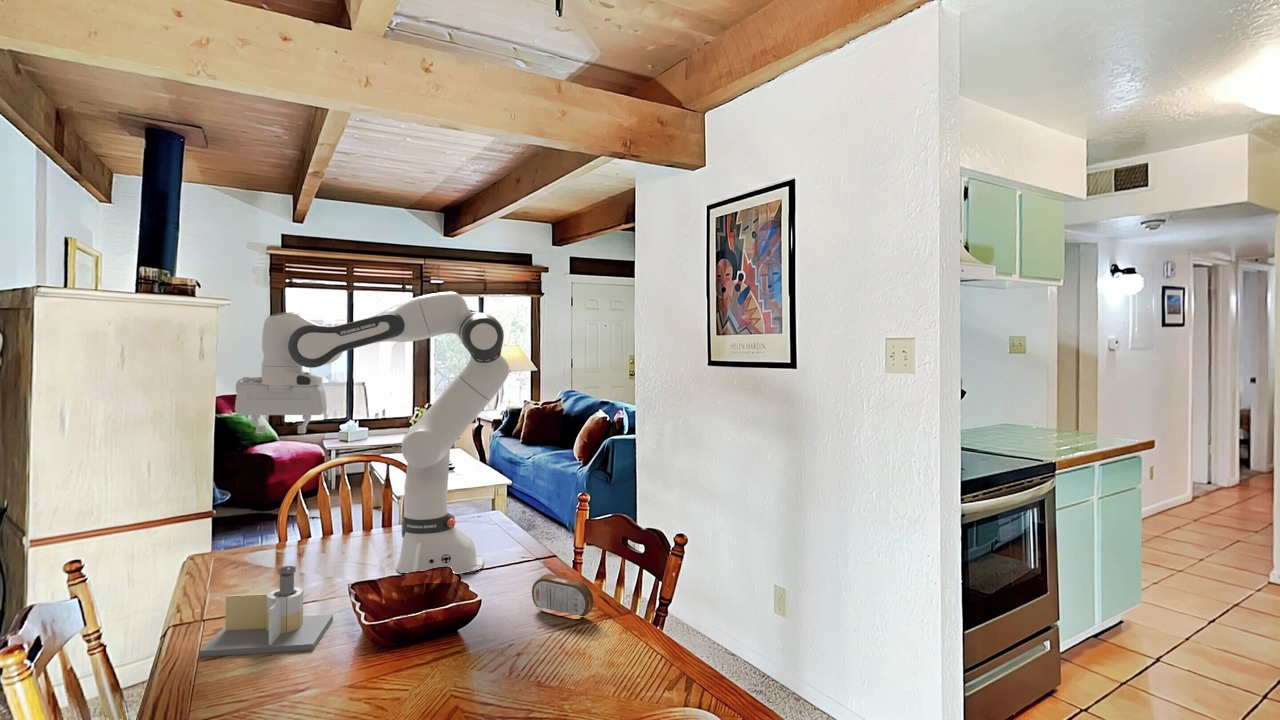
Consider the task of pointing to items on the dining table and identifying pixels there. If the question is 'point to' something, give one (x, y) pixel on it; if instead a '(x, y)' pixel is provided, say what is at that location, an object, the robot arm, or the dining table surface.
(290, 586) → the hinge pin
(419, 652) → the dining table surface
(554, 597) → the tin
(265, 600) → the hinge
